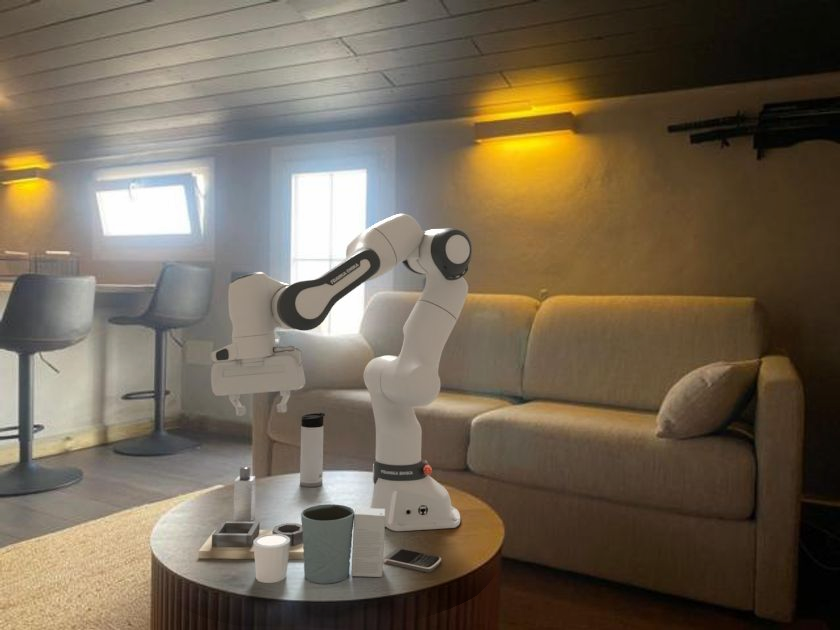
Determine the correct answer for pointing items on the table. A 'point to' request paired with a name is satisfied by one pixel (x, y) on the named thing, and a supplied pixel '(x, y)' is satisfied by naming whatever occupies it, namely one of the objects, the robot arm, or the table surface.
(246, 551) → the socket board
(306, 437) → the travel mug
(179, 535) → the table surface
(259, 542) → the white cup
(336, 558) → the green cylindrical pot
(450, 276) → the robot arm
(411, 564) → the cell phone
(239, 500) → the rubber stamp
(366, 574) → the skincare box
